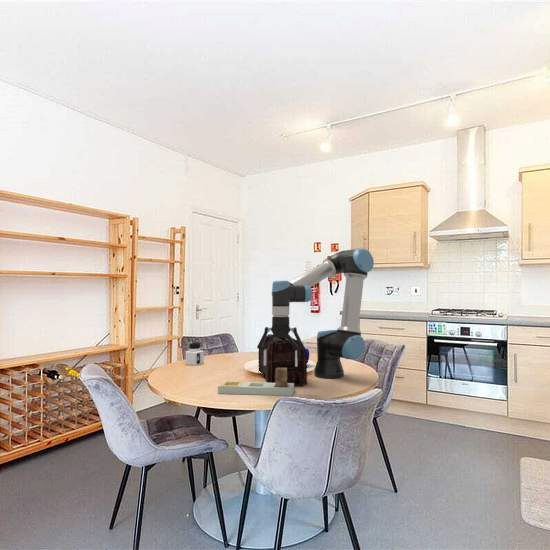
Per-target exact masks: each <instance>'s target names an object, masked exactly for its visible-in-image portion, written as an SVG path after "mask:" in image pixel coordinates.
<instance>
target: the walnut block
mask: <svg viewBox="0 0 550 550" xmlns="http://www.w3.org/2000/svg"><path fill="white" fill-rule="evenodd" d="M275 372H276V387H287V368H276V370H275Z"/></svg>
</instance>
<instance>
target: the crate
mask: <svg viewBox="0 0 550 550" xmlns="http://www.w3.org/2000/svg"><path fill="white" fill-rule="evenodd" d="M272 335H273V333H270V334H268V333H267V335H266V337H265V339H264V341H263V343H262V345H261V346H263V345H264V344H265V343H266V342H267V341H268V340H269V338H270V337H271V336H272ZM291 338H292V339H293V340H294V341H295V343H296V344H297V345H298V346H299V347H300V345H299V343H298V341H297V339H296V338H293V337H292V336H291ZM265 349H267V356H266V366H264V357H261V349H259V348H258V372H259V371H260V372H261V373H262V374H260V375H261V377H262V378H263V379H265V383H276V372H275V370H276V368H287V383H294V388H296V387H302V388H303V387H305V385H307V384H308V370H307V369H308V363H307V358H306V349H307V348H306V349H305V346H304V349H303V350H300V358H298V361H297V367H295V351H296V348H295V347H294V346H293V345H292V343H291V342H290V341H289V340H288V339H287V338H286V337H285V338H281V337H280V338H277V337H274V338H273V340H272V341H271V342H270V343H269V344H268V345H267V347H266V348H265Z"/></svg>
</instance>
